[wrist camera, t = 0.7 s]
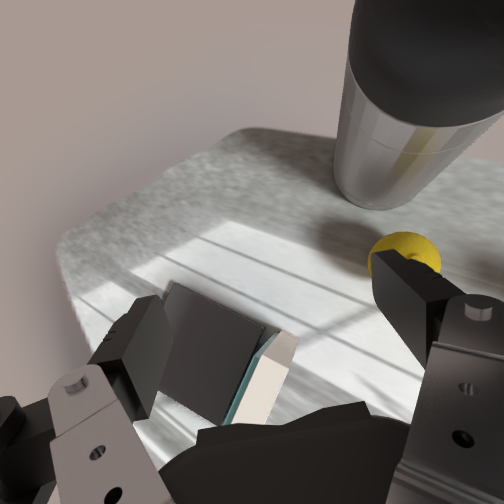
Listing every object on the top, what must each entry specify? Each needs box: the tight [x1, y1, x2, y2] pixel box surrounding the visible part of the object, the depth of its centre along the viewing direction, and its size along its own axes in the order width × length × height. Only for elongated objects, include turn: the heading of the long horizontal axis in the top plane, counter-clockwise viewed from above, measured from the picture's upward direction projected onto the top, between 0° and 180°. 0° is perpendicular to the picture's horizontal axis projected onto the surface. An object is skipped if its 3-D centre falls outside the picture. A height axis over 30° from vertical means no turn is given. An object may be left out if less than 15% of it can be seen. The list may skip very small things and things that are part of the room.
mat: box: [158, 283, 264, 426], centre depth 34 cm, size 11×11×1 cm
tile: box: [223, 330, 299, 425], centre depth 27 cm, size 12×2×12 cm, turn 155°
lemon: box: [368, 232, 441, 278], centre depth 27 cm, size 6×6×8 cm
